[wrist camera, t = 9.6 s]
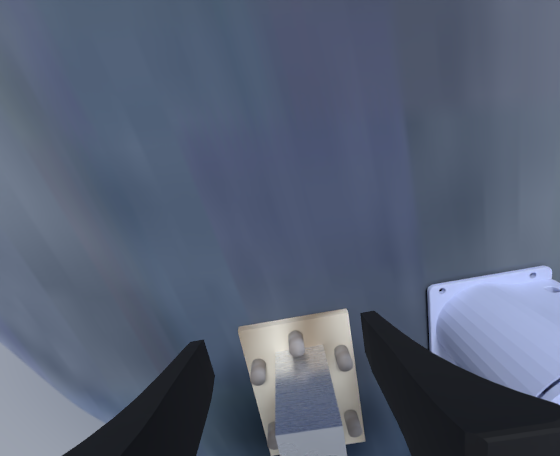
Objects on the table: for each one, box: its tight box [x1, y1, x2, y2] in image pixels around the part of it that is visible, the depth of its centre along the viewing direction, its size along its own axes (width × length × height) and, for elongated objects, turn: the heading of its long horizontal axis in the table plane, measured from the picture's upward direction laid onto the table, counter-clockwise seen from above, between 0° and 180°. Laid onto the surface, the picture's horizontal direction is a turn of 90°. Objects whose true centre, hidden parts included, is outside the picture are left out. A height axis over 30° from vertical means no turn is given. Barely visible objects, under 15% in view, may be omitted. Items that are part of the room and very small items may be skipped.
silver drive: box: [275, 345, 347, 456], centre depth 21 cm, size 4×8×7 cm, turn 10°
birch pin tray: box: [238, 309, 365, 456], centre depth 24 cm, size 9×14×2 cm, turn 10°
